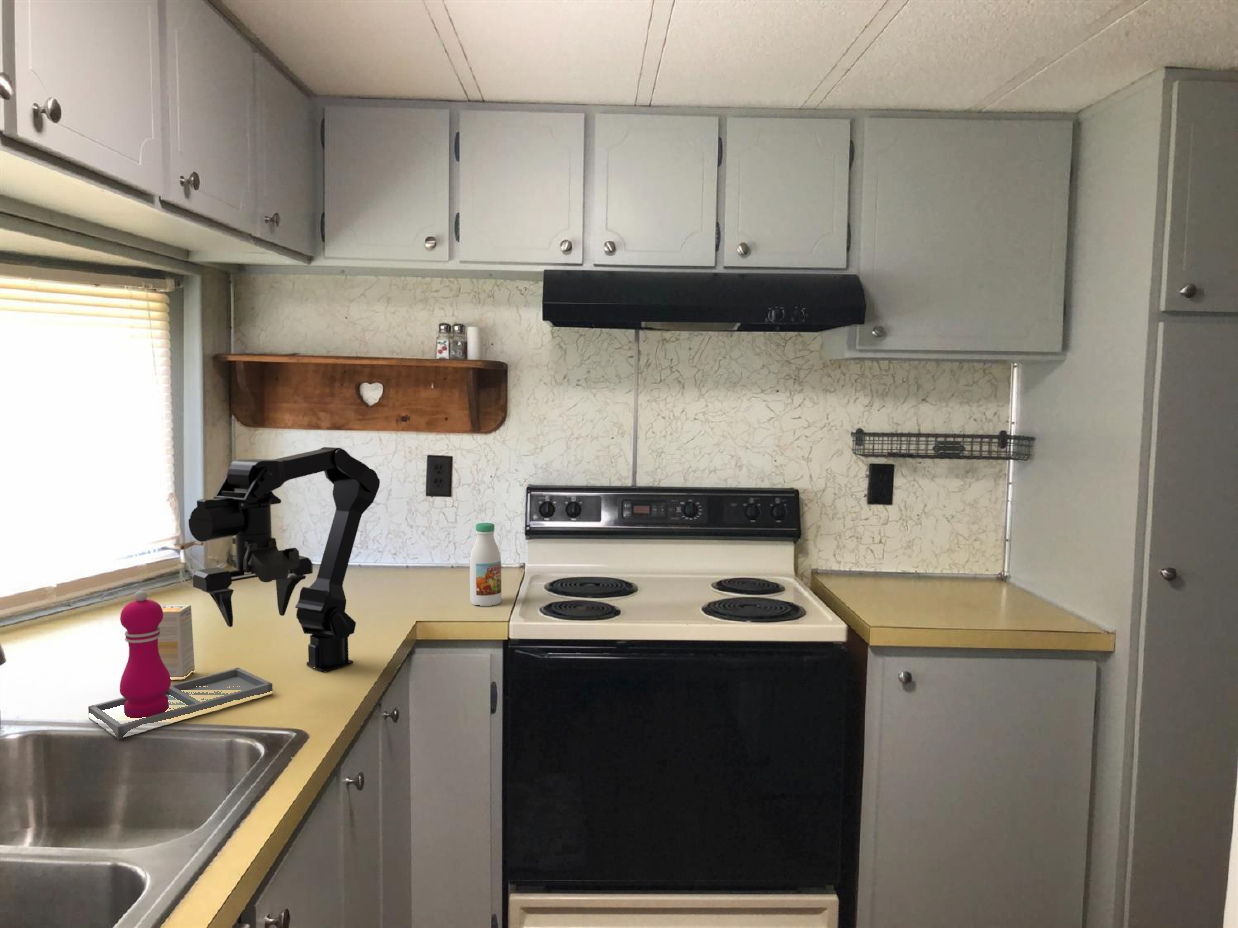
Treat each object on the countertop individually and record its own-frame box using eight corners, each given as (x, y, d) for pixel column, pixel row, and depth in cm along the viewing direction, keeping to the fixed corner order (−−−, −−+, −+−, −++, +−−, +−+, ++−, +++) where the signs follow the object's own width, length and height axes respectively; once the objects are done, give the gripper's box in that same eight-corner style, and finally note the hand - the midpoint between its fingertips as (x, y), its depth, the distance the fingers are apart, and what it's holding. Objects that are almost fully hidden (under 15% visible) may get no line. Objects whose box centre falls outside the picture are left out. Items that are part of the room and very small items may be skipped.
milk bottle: (465, 606, 202) (464, 525, 200) (477, 598, 210) (476, 520, 208) (494, 608, 200) (493, 527, 198) (506, 600, 208) (505, 522, 206)
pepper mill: (181, 708, 135) (175, 589, 133) (136, 723, 129) (129, 599, 127) (156, 699, 139) (150, 583, 137) (111, 713, 133) (104, 592, 131)
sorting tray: (238, 678, 152) (238, 667, 152) (272, 694, 144) (272, 683, 144) (88, 718, 133) (88, 706, 133) (118, 740, 125) (117, 727, 125)
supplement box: (196, 672, 155) (193, 604, 154) (183, 681, 150) (180, 611, 149) (151, 672, 155) (148, 604, 153) (137, 681, 150) (133, 611, 148)
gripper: (220, 546, 129) (223, 642, 131) (328, 530, 144) (330, 618, 145) (189, 537, 136) (193, 629, 138) (295, 523, 151) (297, 607, 152)
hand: (256, 620), depth 143 cm, fingers open, 9 cm apart
